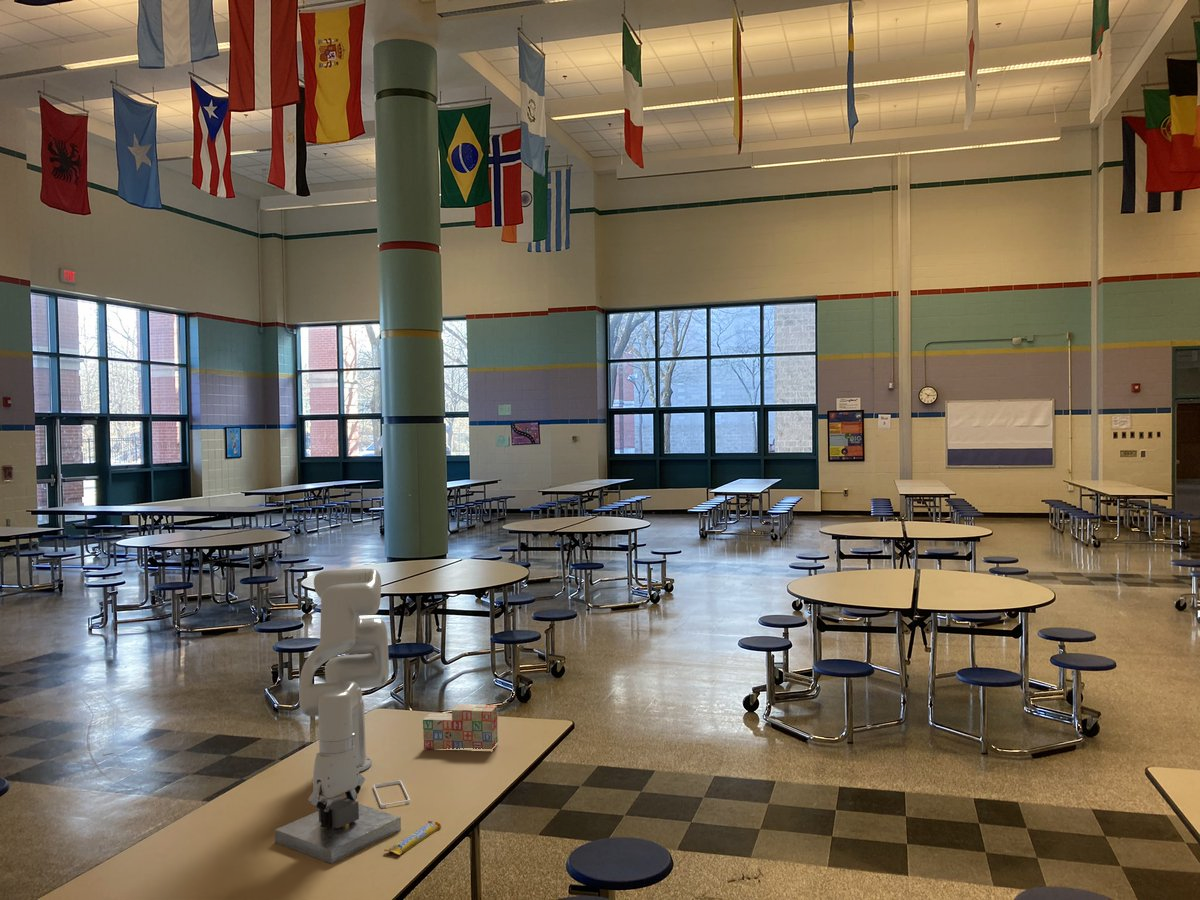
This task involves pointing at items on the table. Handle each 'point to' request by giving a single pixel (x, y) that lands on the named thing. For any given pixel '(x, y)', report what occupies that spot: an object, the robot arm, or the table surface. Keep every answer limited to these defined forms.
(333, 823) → the plug
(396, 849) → the candy bar
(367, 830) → the socket plate
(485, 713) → the stack of blocks
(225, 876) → the table surface
